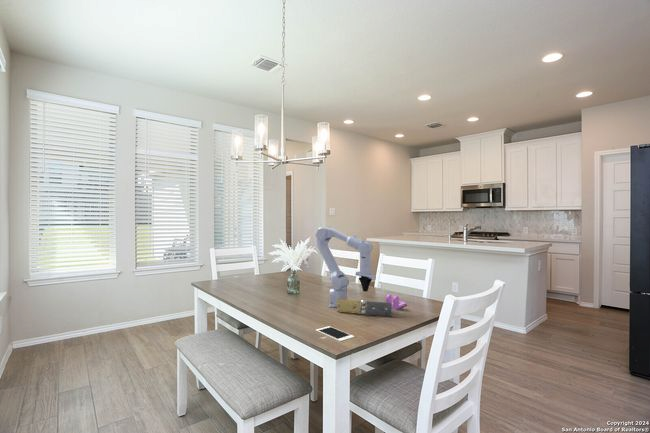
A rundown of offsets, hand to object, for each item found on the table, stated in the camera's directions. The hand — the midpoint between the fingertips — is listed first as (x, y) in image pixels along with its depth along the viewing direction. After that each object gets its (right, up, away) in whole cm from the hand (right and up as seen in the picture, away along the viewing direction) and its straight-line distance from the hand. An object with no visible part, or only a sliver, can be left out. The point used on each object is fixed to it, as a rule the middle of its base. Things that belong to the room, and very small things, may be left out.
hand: (365, 291), depth 168 cm
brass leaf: (-8, -9, -7) cm, 14 cm away
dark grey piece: (+4, -9, -10) cm, 14 cm away
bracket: (+18, -10, +6) cm, 21 cm away
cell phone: (-17, -10, -35) cm, 40 cm away
